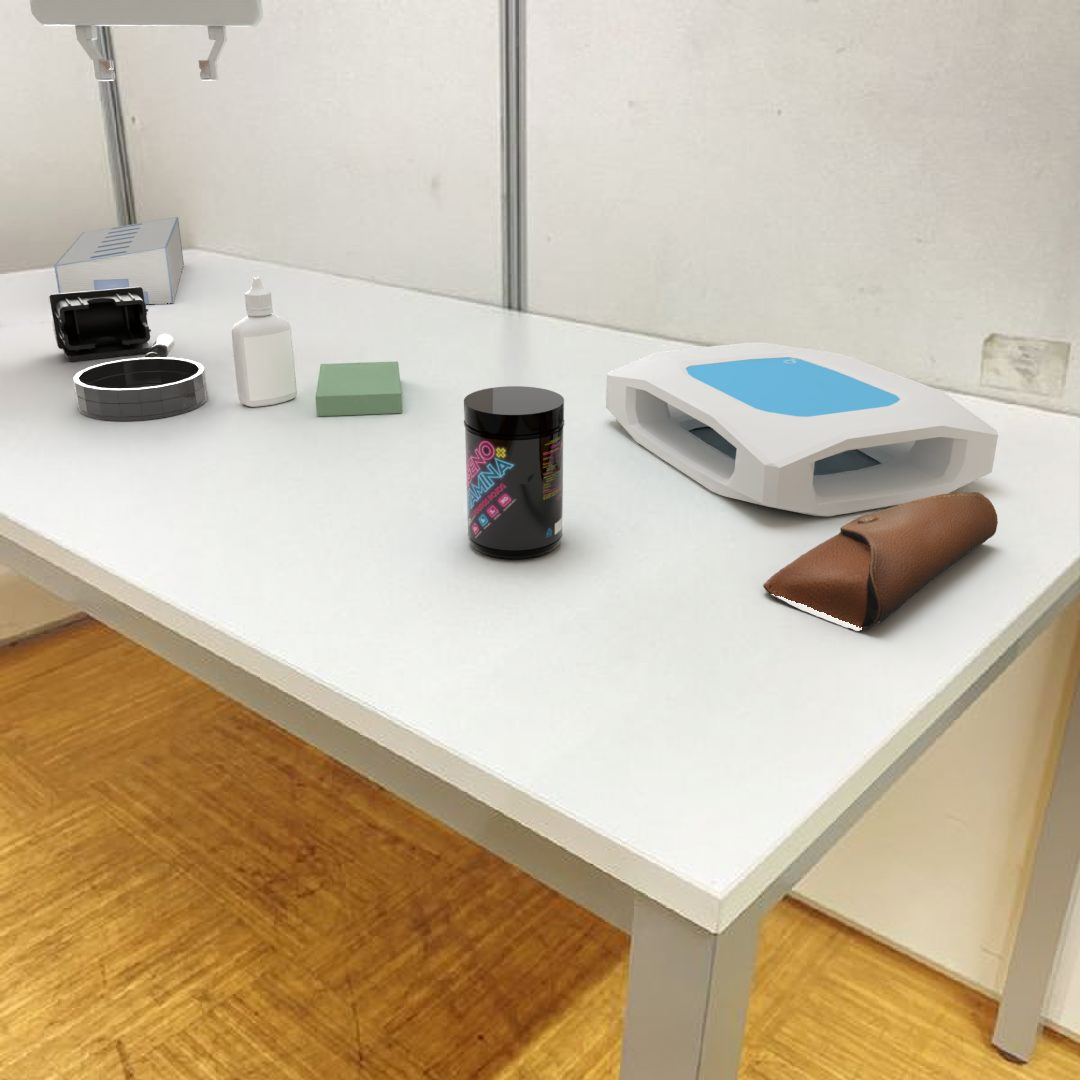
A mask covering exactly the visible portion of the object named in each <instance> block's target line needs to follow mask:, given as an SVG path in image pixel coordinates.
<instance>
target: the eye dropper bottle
mask: <svg viewBox="0 0 1080 1080" xmlns="http://www.w3.org/2000/svg"><path fill="white" fill-rule="evenodd" d="M251 279H252V280H251V282H252V283H251V288H250V289H249V290H248V291H245V293H244V301H245V309H246V310H245V311H246V315H247V316H246V317H244V318H242V319H240V320H239V321H237V322H236V323H235V324H234V325H233V326H232V328H231V342H232V353H233V361H234V370H235V381H236V389H237V398H238V401H239V403H241V404H243V405H244V406H247V407H251V408H258V407H267V406H273V405H277V404H282V403H285V402H288V401H290V400H293V399H295V398H296V397H297V394H298V390H297V389H298V388H297V378H296V367H295V356H294V345H293V335H292V328H291V324H290V322H289V321H288V320H287V319H286V318H284V317H282V316H279V315H275V314H273V311H274V309H273V304H272V303H273V301H272V300H273V299H272V292H271V291H270V290H267V289H265V287H264V286H263V283H262V280H261V277H259V276H256V277H252V278H251Z"/></svg>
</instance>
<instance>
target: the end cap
mask: <svg viewBox="0 0 1080 1080" xmlns="http://www.w3.org/2000/svg"><path fill="white" fill-rule="evenodd" d="M48 306H49V312H50V318H51V323H52V329H53V334H54V338H55V341H56V346H57V348H58V349H60V350H62V352H63V355H64V356H65V359H66V360H67V361H68V362H80V360H82V361H90V360H96V359H97V360H98V359H99V360H100V359H108V358H117V357H125V356H127V357H128V356H135V355H145V354H147V352H148V351H149V350H150V348H151V347H152V345H150V344H149V341H150V339H151V332H152V329H151V328H150V326H149V323H148V317H147V316H148V312H149V308H148V307H147V305H146V304H145V302H144V294H143V289H142V288H141V287H130V288H118V289H106V290H94V291H83V292H71V293H59V292H58V293H51V294H49V295H48ZM144 353H145V354H144Z"/></svg>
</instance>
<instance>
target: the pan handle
mask: <svg viewBox="0 0 1080 1080" xmlns="http://www.w3.org/2000/svg"><path fill="white" fill-rule="evenodd" d="M174 346H175V339H174V338H173V336H171V335H170V334H167V333H163V334H160V335H158V336H157V338H156V340H155V341H154V343H153V344H152V345H151V348H150V350H149V351H148V352H147V353H145V354H144V357H143V358H155V357H164V358H168V356H169V354H170V353H171V351H172V350H173V348H174Z"/></svg>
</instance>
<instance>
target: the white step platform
mask: <svg viewBox="0 0 1080 1080" xmlns="http://www.w3.org/2000/svg"><path fill="white" fill-rule="evenodd" d="M605 389H606V391H605V392H606V393H605V408H606V409H607V410H608V412H609V413H610V414H611V415H612V416H613V417H614V419H616V420H617V421H618V423H619V424H620V426H622V428H623V429H625V431H626V432H627V433H628V434H629V435H630V437H631V438H632V439H633V440H634V441H635V442H636V443H637V444H639V445H640V446H642V447H644V448H645V449H646V450H648V451H649V452H651V453H652V454H654V455H656V456H657V457H658V458H660V459H662V460H663V461H665V462H666V463H668V464H669V465H671V466H673V467H674V468H675V469H677V470H678V471H680V472H682V473H683V474H685V475H686V476H688V477H689V478H691V479H692V480H694V481H695V482H697V483H699V484H700V485H701V486H702V487H704V488H706V489H708V490H709V491H710V492H713V493H715V494H717V495H719V496H722V497H726V498H730V499H735V500H739V501H743V502H747V503H750V504H754V505H759V506H764V507H769V508H773V509H778V510H783V511H788V512H793V513H799V514H804V515H809V516H814V517H834V516H839V515H845V514H851V513H857V512H864V511H868V510H869V511H870V510H875V509H880V508H886V507H894V506H897V505H900V504H903V503H907V502H910V501H914V500H918V499H922V498H926V497H931V496H936V495H942V494H950V493H953V492H955V491H956V490H959V489H960V488H962V487H964V486H966V485H969V484H971V483H973V482H975V481H976V480H978V479H981V478H983V477H985V476H987V475H989V474H991V473H993V468H994V461H995V455H996V449H997V444H998V437H999V434H998V430H997V429H995V428H994V427H993V426H991V425H990V424H988V423H987V422H986V421H984V420H983V419H981V418H980V417H979V416H978V415H976V414H974V413H973V412H972V411H971V410H969V409H968V408H967V407H965V406H964V405H962V404H961V403H960V402H958V401H957V400H955V399H954V398H953V397H951V396H950V395H949V394H948V393H946V392H944V391H943V390H939V389H936V388H934V387H932V386H929V385H927V384H924V383H921V382H918V381H916V380H913V379H911V378H908V377H906V376H903V375H900V374H898V373H895V372H892V371H889V370H887V369H884V368H881V367H878V366H876V365H874V364H870V363H868V362H866V361H863V360H860V359H858V358H855V357H853V356H849V355H847V354H843V353H839V352H833V351H827V350H821V349H820V350H818V349H813V348H806V347H798V346H791V345H783V344H777V343H770V342H763V341H762V342H761V341H754V342H753V341H752V342H742V343H730V344H720V345H712V346H700V347H693V348H682V349H672V350H663V351H655V352H653V353H650V354H648V355H646V356H643V357H640V358H638V359H636V360H633V361H631V362H628V363H626V364H624V365H622V366H619V367H617V368H615V369H612V370H609V371H608V373H607V374H606V388H605ZM707 427H709V428H711V429H713V430H714V431H715V432H716V433H718V434H719V436H721V437H722V438H723V439H725V440H726V441H727V442H728V443H729V444H731V445H732V446H733V447H734V448H735V449H736V451H735V458H733V457H732V456H730V455H728V454H727V453H725V452H723V451H721V450H720V449H718V448H716V447H714V446H713V445H711V444H709V443H708V442H706V441H704V440H703V439H701V438H699V437H698V436H696V435H695V434H693V432H690V431H691V430H694V429H699V428H700V429H701V428H707ZM854 450H858V451H860V452H862V453H863V454H865V455H867V456H868V457H870V458H872V459H873V460H875V461H876V462H878V463H879V464H878V463H877V464H875V465H870V466H866V467H863V468H859V469H853V470H846V471H839V472H834V473H828V474H816V475H814V474H815V473H814V472H815V464H816V462H817V461H820V460H824V459H826V458H830V457H832V456H836V455H838V454H841V453H844V452H847V451H854Z"/></svg>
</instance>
